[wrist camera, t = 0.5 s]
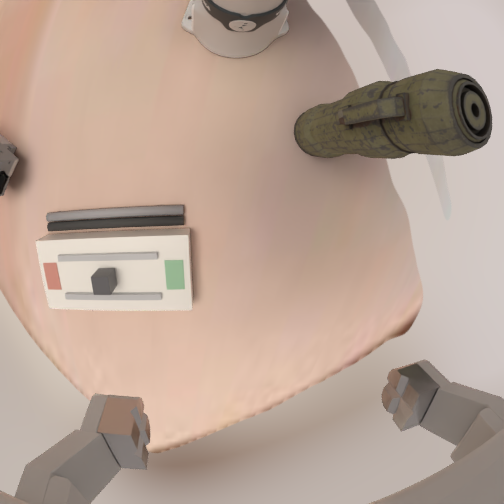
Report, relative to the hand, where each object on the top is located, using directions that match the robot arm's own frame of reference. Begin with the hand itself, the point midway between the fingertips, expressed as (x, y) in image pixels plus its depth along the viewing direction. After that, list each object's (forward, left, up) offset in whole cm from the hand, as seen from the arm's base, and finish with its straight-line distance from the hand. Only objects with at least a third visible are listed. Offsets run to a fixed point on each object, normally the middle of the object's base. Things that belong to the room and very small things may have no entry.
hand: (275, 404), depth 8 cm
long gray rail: (+2, -19, -43) cm, 47 cm away
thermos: (-13, +17, -44) cm, 49 cm away
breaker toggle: (+10, -19, -38) cm, 44 cm away
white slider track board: (+10, -19, -43) cm, 48 cm away
